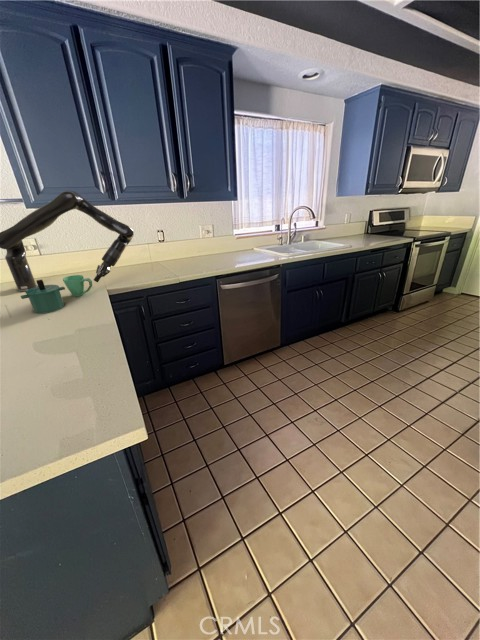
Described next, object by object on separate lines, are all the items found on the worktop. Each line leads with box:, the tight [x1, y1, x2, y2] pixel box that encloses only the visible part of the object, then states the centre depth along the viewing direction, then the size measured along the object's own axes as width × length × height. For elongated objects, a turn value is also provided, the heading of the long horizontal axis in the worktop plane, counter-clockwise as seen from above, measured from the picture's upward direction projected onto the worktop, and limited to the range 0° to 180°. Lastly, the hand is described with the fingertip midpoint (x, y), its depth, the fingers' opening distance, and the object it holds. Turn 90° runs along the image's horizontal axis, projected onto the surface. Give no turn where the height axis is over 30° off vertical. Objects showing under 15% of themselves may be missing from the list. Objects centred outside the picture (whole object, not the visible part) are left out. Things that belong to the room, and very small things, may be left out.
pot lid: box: [24, 279, 60, 295], centre depth 127 cm, size 14×14×6 cm
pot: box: [20, 286, 66, 314], centre depth 130 cm, size 13×18×10 cm
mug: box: [62, 274, 93, 297], centre depth 147 cm, size 15×10×10 cm
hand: (95, 281), depth 152 cm, fingers closed
